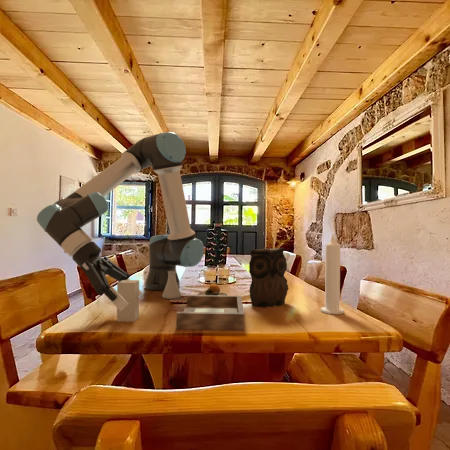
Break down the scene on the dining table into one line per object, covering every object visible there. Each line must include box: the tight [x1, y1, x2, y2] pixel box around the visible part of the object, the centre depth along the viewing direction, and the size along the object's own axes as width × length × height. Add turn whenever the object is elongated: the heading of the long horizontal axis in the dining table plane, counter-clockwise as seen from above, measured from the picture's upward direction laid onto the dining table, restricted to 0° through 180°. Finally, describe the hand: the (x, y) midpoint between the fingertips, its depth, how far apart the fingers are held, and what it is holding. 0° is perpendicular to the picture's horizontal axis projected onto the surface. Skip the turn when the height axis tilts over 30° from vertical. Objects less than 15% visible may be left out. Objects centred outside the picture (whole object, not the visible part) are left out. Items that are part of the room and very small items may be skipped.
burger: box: [196, 283, 228, 296], centre depth 118 cm, size 12×12×8 cm
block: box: [116, 279, 140, 323], centre depth 91 cm, size 5×4×11 cm
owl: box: [248, 247, 289, 308], centre depth 111 cm, size 13×13×20 cm
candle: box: [320, 234, 345, 315], centre depth 102 cm, size 7×7×25 cm
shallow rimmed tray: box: [175, 294, 245, 331], centre depth 94 cm, size 18×22×4 cm
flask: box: [161, 270, 183, 300], centre depth 120 cm, size 7×7×10 cm
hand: (132, 301), depth 91 cm, fingers open, 13 cm apart
